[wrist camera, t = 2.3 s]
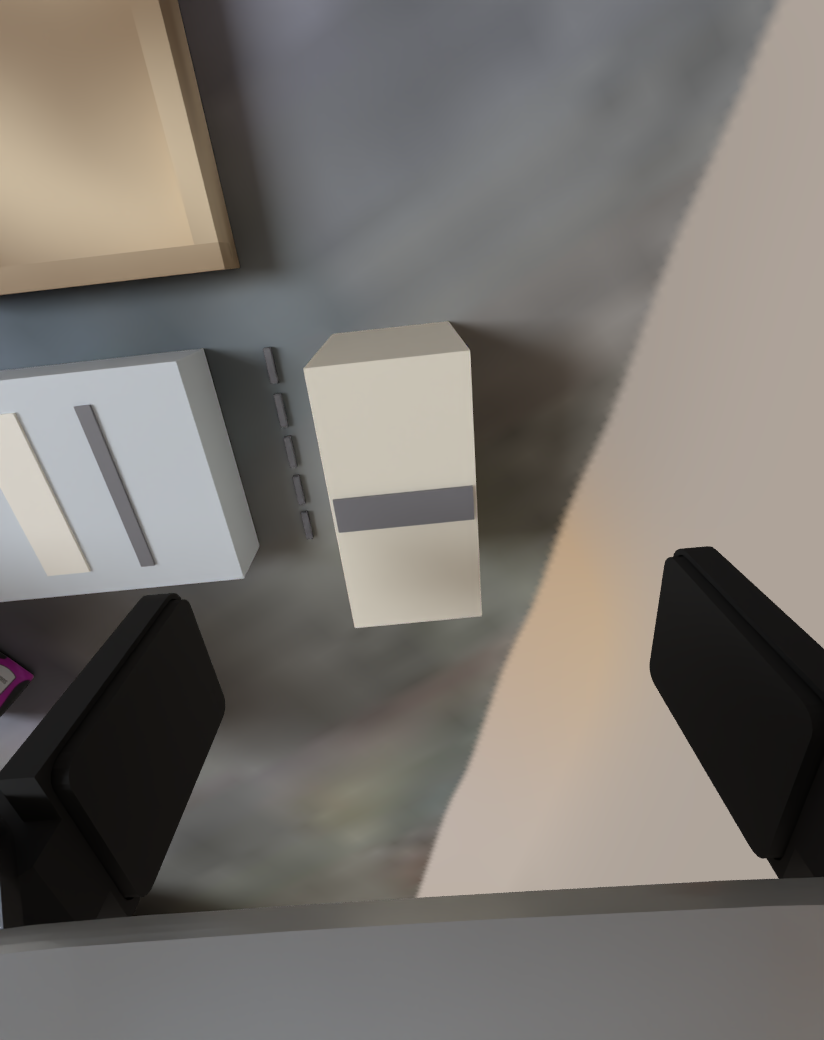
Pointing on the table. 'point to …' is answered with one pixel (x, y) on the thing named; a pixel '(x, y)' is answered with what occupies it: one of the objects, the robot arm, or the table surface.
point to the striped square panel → (117, 478)
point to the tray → (103, 148)
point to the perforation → (287, 440)
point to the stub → (400, 470)
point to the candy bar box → (11, 681)
